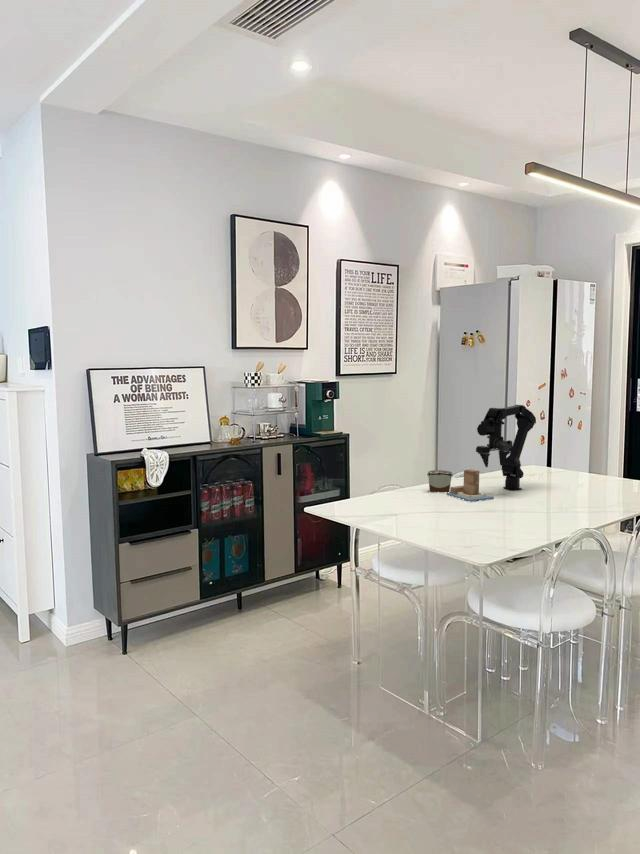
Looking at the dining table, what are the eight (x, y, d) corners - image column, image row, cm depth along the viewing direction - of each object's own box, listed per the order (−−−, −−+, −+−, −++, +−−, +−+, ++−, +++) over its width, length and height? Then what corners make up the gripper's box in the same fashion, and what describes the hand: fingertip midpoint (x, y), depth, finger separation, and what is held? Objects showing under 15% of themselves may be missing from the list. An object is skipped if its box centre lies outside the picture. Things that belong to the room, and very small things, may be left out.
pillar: (470, 494, 323) (470, 469, 322) (478, 496, 319) (479, 470, 318) (463, 495, 320) (464, 470, 319) (471, 497, 316) (472, 471, 315)
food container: (451, 490, 337) (451, 470, 336) (452, 492, 331) (452, 472, 330) (425, 489, 338) (426, 469, 337) (426, 492, 332) (427, 471, 331)
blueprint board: (469, 492, 333) (470, 484, 332) (493, 499, 318) (493, 490, 317) (446, 494, 326) (446, 486, 326) (469, 502, 311) (470, 493, 311)
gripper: (491, 437, 316) (490, 470, 318) (522, 435, 325) (520, 467, 327) (475, 434, 326) (474, 466, 328) (505, 432, 335) (504, 464, 336)
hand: (494, 466), depth 329 cm, fingers open, 9 cm apart
